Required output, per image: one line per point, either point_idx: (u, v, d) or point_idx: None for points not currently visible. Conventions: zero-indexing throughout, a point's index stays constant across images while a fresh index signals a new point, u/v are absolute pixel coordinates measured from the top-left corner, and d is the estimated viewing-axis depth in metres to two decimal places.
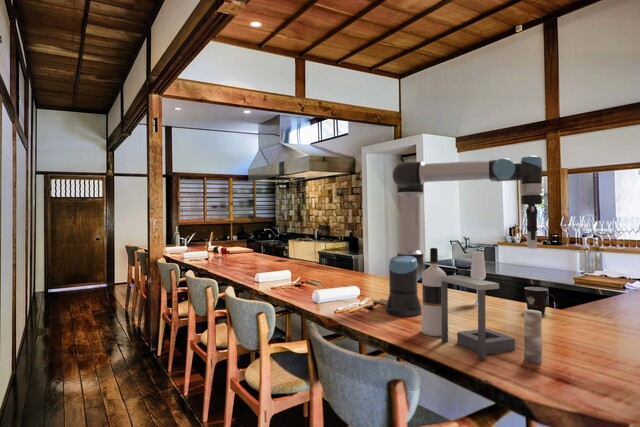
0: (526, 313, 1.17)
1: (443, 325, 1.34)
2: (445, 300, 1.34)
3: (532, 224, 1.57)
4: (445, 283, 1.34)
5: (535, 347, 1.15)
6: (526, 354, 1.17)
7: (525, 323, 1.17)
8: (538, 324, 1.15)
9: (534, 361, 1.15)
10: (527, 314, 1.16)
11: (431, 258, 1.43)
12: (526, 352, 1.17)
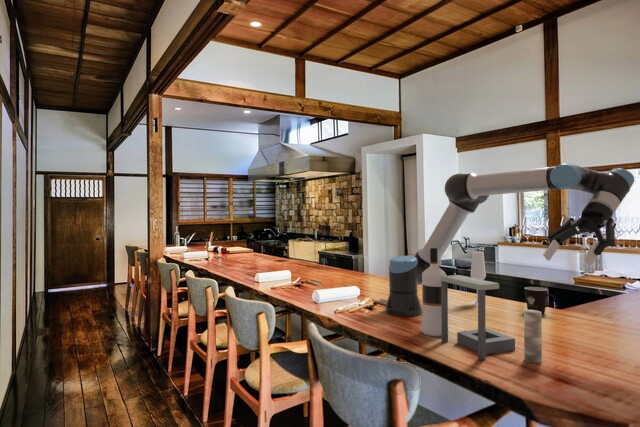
0: (526, 313, 1.17)
1: (443, 325, 1.34)
2: (445, 300, 1.34)
3: (612, 237, 1.16)
4: (445, 283, 1.34)
5: (535, 347, 1.15)
6: (526, 354, 1.17)
7: (525, 323, 1.17)
8: (538, 324, 1.15)
9: (534, 361, 1.15)
10: (527, 314, 1.16)
11: (431, 258, 1.43)
12: (526, 352, 1.17)
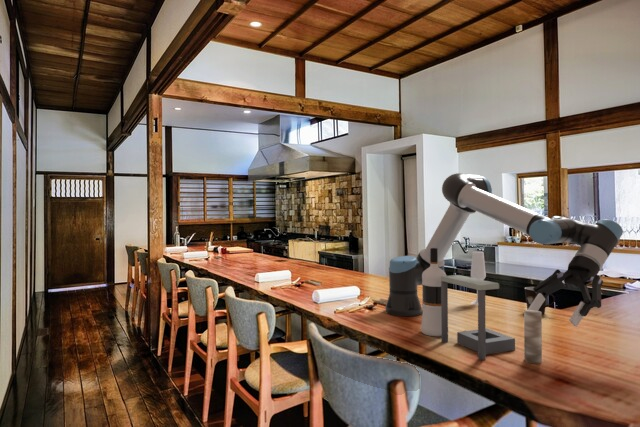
0: (526, 313, 1.17)
1: (443, 325, 1.34)
2: (445, 300, 1.34)
3: (598, 298, 1.12)
4: (445, 283, 1.34)
5: (535, 347, 1.15)
6: (526, 354, 1.17)
7: (525, 323, 1.17)
8: (538, 324, 1.15)
9: (534, 361, 1.15)
10: (527, 314, 1.16)
11: (431, 258, 1.43)
12: (526, 352, 1.17)
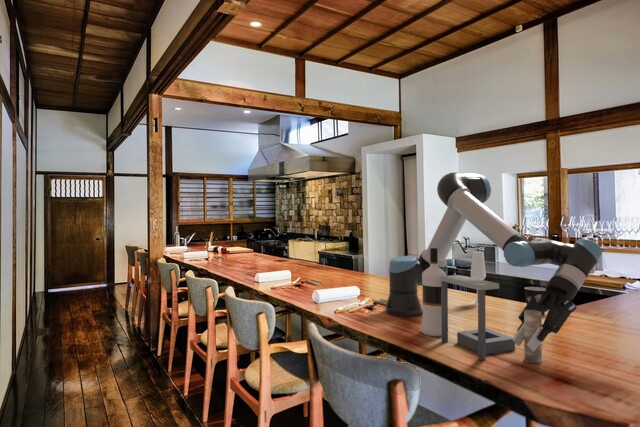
0: (526, 313, 1.17)
1: (443, 325, 1.34)
2: (445, 300, 1.34)
3: (557, 324, 1.13)
4: (445, 283, 1.34)
5: None
6: (526, 354, 1.17)
7: (525, 323, 1.17)
8: (538, 324, 1.15)
9: (534, 361, 1.15)
10: (527, 314, 1.16)
11: (431, 258, 1.43)
12: (526, 352, 1.17)
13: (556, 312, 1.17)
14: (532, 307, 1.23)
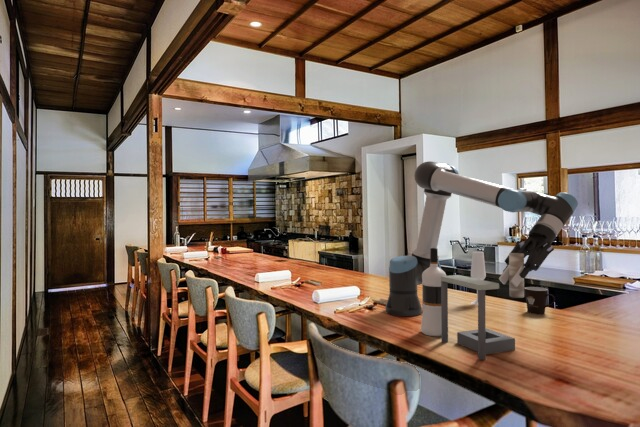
0: (510, 255, 1.34)
1: (443, 325, 1.34)
2: (445, 300, 1.34)
3: (537, 263, 1.30)
4: (445, 283, 1.34)
5: None
6: (510, 290, 1.34)
7: (510, 264, 1.34)
8: (521, 263, 1.32)
9: (517, 296, 1.32)
10: (511, 255, 1.33)
11: (431, 258, 1.43)
12: (510, 289, 1.34)
13: (537, 254, 1.34)
14: (516, 252, 1.40)
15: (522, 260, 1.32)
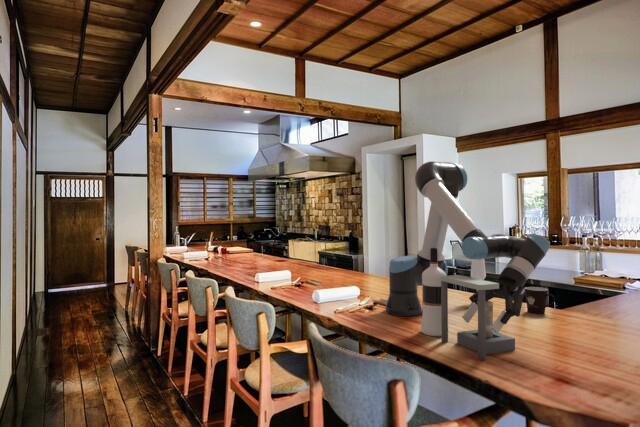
0: None
1: (443, 325, 1.34)
2: (445, 300, 1.34)
3: (517, 307, 1.23)
4: (445, 283, 1.34)
5: (486, 333, 1.28)
6: None
7: None
8: (489, 313, 1.28)
9: None
10: None
11: (431, 258, 1.44)
12: None
13: (511, 298, 1.28)
14: None
15: (491, 309, 1.28)
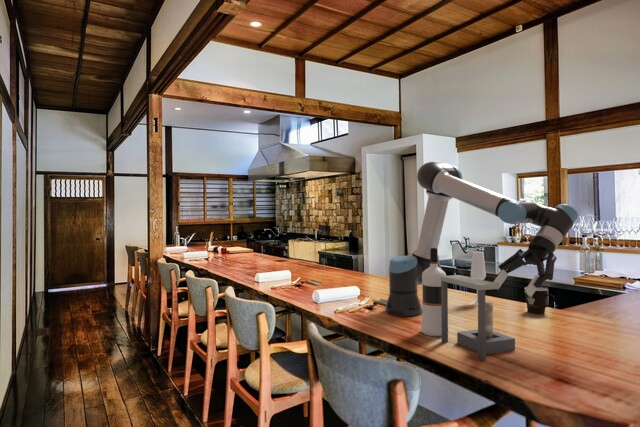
0: None
1: (443, 325, 1.34)
2: (445, 300, 1.34)
3: (550, 271, 1.27)
4: (445, 283, 1.34)
5: (486, 333, 1.28)
6: None
7: None
8: (489, 313, 1.28)
9: None
10: None
11: (431, 258, 1.43)
12: None
13: (542, 264, 1.33)
14: (513, 260, 1.43)
15: (491, 309, 1.28)
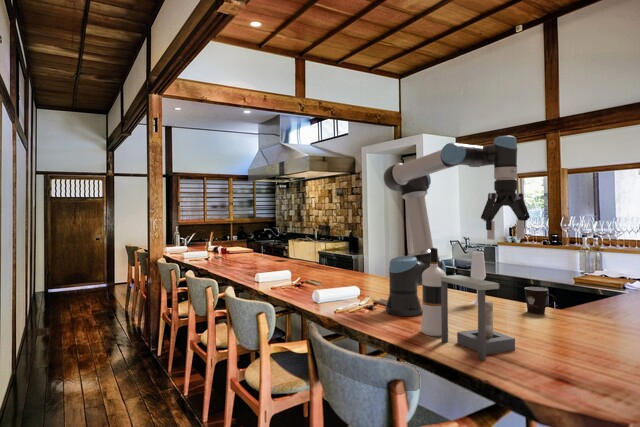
0: None
1: (443, 325, 1.34)
2: (445, 300, 1.34)
3: (484, 213, 1.44)
4: (445, 283, 1.34)
5: (487, 333, 1.28)
6: None
7: None
8: (489, 313, 1.28)
9: None
10: None
11: (431, 258, 1.43)
12: None
13: (497, 204, 1.45)
14: (520, 205, 1.50)
15: (491, 309, 1.28)
